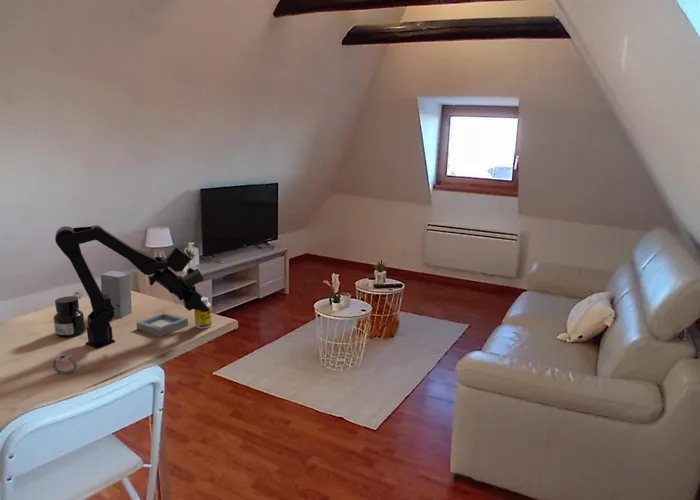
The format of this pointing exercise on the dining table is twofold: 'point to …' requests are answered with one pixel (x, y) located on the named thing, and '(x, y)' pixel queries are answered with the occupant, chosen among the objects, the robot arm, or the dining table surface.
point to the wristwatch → (64, 358)
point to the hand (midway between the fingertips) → (206, 307)
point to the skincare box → (118, 291)
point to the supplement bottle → (203, 316)
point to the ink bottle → (68, 317)
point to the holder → (162, 324)
